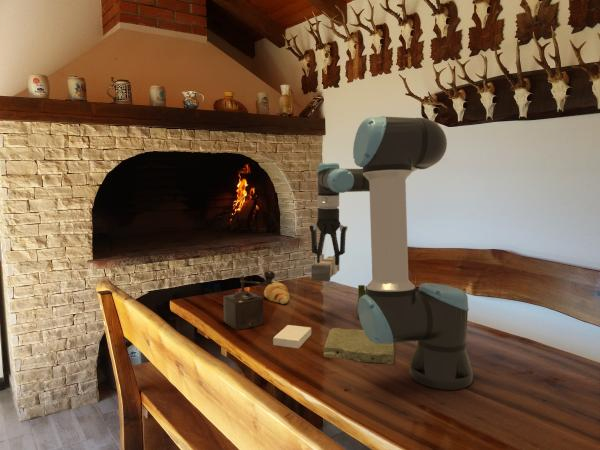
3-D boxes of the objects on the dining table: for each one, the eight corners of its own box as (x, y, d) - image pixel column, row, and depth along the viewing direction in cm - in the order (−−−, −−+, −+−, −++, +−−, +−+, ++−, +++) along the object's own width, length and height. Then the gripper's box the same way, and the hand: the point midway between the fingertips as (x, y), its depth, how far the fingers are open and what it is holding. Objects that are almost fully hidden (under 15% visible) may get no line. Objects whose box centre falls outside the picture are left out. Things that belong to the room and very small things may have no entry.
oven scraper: (328, 281, 151) (328, 266, 150) (311, 280, 152) (311, 265, 152) (342, 270, 167) (342, 257, 167) (326, 269, 169) (326, 256, 169)
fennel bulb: (375, 320, 158) (375, 286, 156) (363, 322, 156) (363, 288, 154) (365, 315, 163) (366, 282, 161) (354, 317, 161) (354, 284, 159)
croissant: (292, 313, 177) (301, 294, 177) (271, 304, 172) (280, 285, 173) (273, 298, 196) (281, 281, 196) (253, 289, 192) (262, 272, 192)
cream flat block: (311, 335, 144) (298, 349, 133) (287, 332, 147) (273, 346, 136) (311, 327, 144) (298, 340, 133) (287, 324, 147) (273, 337, 136)
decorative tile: (330, 336, 144) (330, 325, 143) (394, 341, 140) (395, 329, 139) (320, 360, 126) (320, 348, 125) (394, 366, 122) (394, 354, 121)
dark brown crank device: (237, 331, 147) (236, 277, 145) (222, 322, 156) (221, 271, 154) (278, 322, 156) (277, 270, 154) (261, 313, 165) (261, 265, 163)
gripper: (301, 207, 157) (301, 274, 160) (349, 209, 152) (349, 277, 154) (308, 206, 164) (308, 269, 167) (354, 207, 159) (354, 272, 161)
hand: (328, 273), depth 161 cm, fingers closed on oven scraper, 4 cm apart
